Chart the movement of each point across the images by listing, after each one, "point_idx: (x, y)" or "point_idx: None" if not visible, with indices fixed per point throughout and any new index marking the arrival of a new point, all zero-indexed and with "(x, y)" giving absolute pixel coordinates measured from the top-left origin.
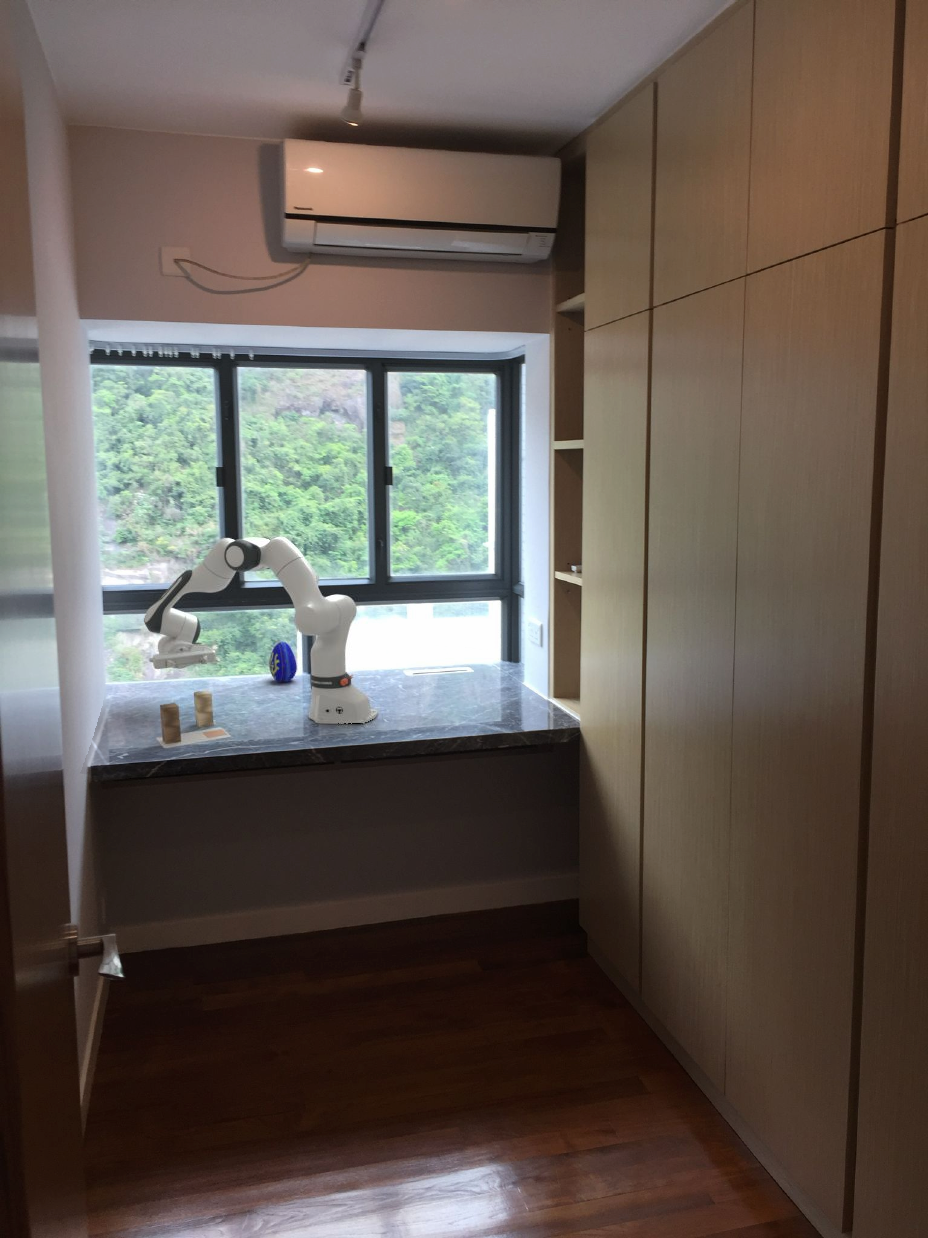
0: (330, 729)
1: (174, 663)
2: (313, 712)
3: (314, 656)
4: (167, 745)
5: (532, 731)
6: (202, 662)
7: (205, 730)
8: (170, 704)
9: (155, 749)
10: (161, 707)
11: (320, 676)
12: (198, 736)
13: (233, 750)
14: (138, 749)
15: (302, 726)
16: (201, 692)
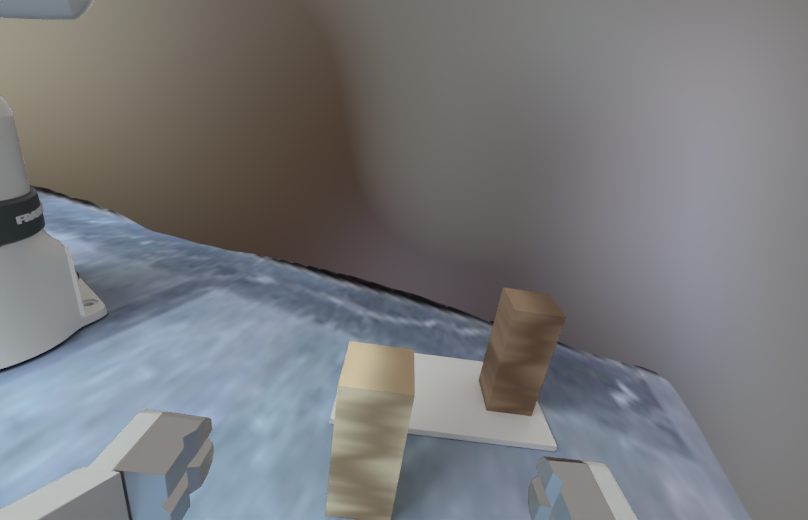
0: (139, 284)
1: (583, 462)
2: (68, 310)
3: (2, 115)
4: None
5: None
6: (207, 451)
7: None
8: (529, 306)
9: (545, 387)
10: (556, 308)
11: (29, 187)
12: (425, 386)
13: (381, 305)
14: (594, 410)
15: (150, 320)
16: (382, 370)
